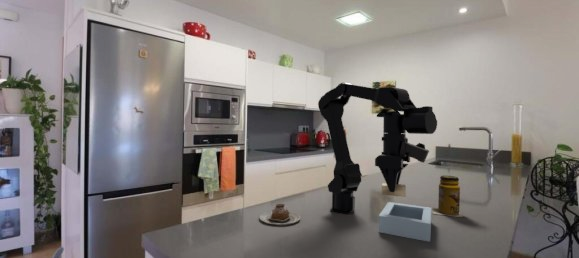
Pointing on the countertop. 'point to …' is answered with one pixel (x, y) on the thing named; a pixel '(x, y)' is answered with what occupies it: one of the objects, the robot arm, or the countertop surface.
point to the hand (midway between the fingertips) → (393, 190)
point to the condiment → (448, 197)
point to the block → (399, 190)
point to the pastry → (279, 215)
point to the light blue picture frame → (406, 221)
